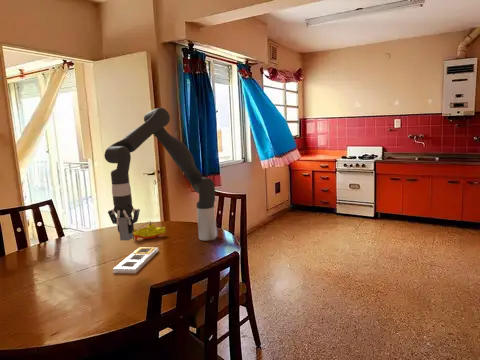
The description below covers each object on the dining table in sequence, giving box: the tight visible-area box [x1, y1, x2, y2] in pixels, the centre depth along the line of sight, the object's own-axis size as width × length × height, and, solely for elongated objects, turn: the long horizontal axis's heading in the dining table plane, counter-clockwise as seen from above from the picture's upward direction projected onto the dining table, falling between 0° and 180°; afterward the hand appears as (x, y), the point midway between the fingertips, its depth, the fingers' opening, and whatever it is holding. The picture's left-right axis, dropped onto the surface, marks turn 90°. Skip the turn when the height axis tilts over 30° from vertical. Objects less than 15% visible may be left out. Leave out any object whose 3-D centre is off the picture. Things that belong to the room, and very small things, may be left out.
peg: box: [118, 216, 133, 241], centre depth 149 cm, size 4×4×10 cm
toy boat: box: [132, 220, 166, 242], centre depth 192 cm, size 6×18×10 cm, turn 115°
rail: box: [112, 246, 159, 275], centre depth 159 cm, size 10×26×2 cm, turn 172°
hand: (126, 232), depth 149 cm, fingers closed on peg, 4 cm apart
